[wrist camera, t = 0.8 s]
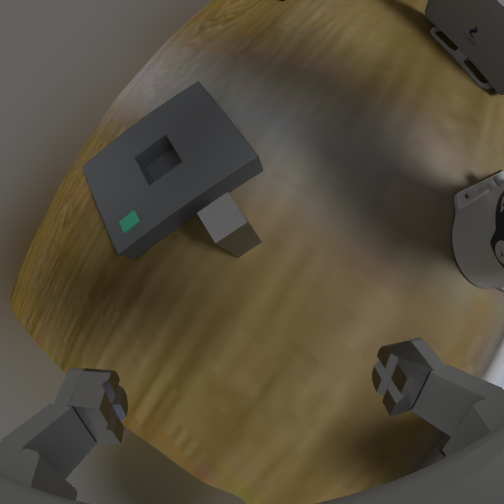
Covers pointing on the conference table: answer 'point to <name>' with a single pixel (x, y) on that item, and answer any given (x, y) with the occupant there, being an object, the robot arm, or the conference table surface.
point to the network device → (473, 35)
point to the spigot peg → (229, 226)
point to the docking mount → (168, 170)
